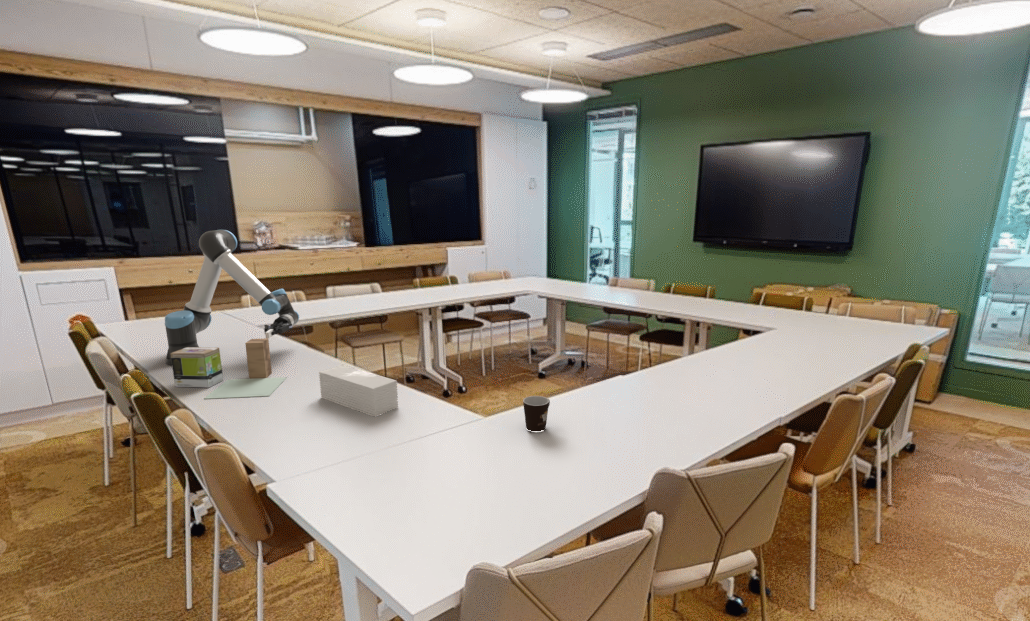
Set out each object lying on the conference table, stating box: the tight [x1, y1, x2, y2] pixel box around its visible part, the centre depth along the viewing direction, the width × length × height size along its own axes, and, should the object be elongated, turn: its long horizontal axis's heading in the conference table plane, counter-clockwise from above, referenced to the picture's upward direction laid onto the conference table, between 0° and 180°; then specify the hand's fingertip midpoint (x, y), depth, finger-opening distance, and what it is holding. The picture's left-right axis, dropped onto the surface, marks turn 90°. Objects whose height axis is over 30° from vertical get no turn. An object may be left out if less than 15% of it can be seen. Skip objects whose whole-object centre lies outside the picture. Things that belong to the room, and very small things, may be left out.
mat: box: [203, 376, 288, 400], centre depth 212 cm, size 22×24×1 cm
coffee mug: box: [522, 395, 551, 431], centre depth 173 cm, size 12×9×10 cm
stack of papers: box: [318, 364, 399, 417], centre depth 195 cm, size 32×11×11 cm, turn 54°
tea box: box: [170, 346, 224, 389], centre depth 216 cm, size 15×10×15 cm, turn 84°
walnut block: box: [245, 337, 273, 379], centre depth 225 cm, size 7×7×16 cm
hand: (267, 335), depth 232 cm, fingers closed
